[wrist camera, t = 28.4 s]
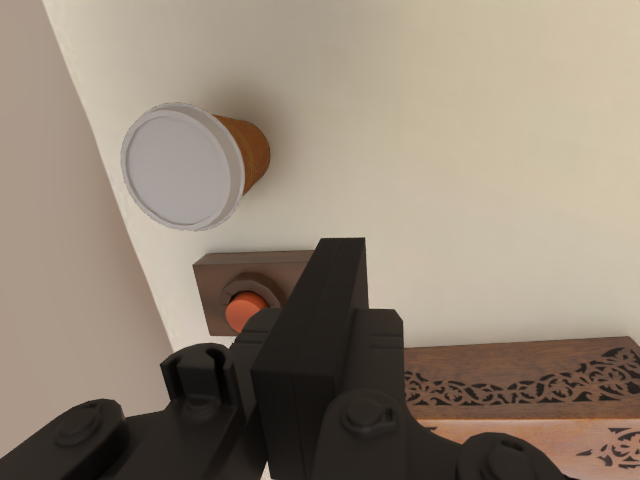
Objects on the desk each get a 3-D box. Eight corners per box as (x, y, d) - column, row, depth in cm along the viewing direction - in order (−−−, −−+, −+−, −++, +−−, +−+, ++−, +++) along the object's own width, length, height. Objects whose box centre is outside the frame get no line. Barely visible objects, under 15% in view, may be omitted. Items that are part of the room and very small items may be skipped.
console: (206, 253, 42) (182, 272, 37) (315, 249, 39) (304, 269, 34) (222, 320, 45) (202, 345, 40) (324, 322, 42) (315, 348, 37)
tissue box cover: (387, 444, 47) (385, 527, 37) (368, 350, 42) (360, 418, 33) (622, 447, 40) (689, 549, 31) (629, 336, 36) (709, 417, 26)
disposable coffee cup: (274, 210, 38) (225, 252, 27) (192, 182, 39) (111, 213, 28) (295, 118, 35) (248, 125, 24) (204, 90, 35) (117, 84, 24)
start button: (229, 291, 38) (221, 300, 36) (265, 291, 37) (259, 299, 35) (236, 324, 39) (229, 334, 37) (271, 325, 38) (266, 335, 36)
